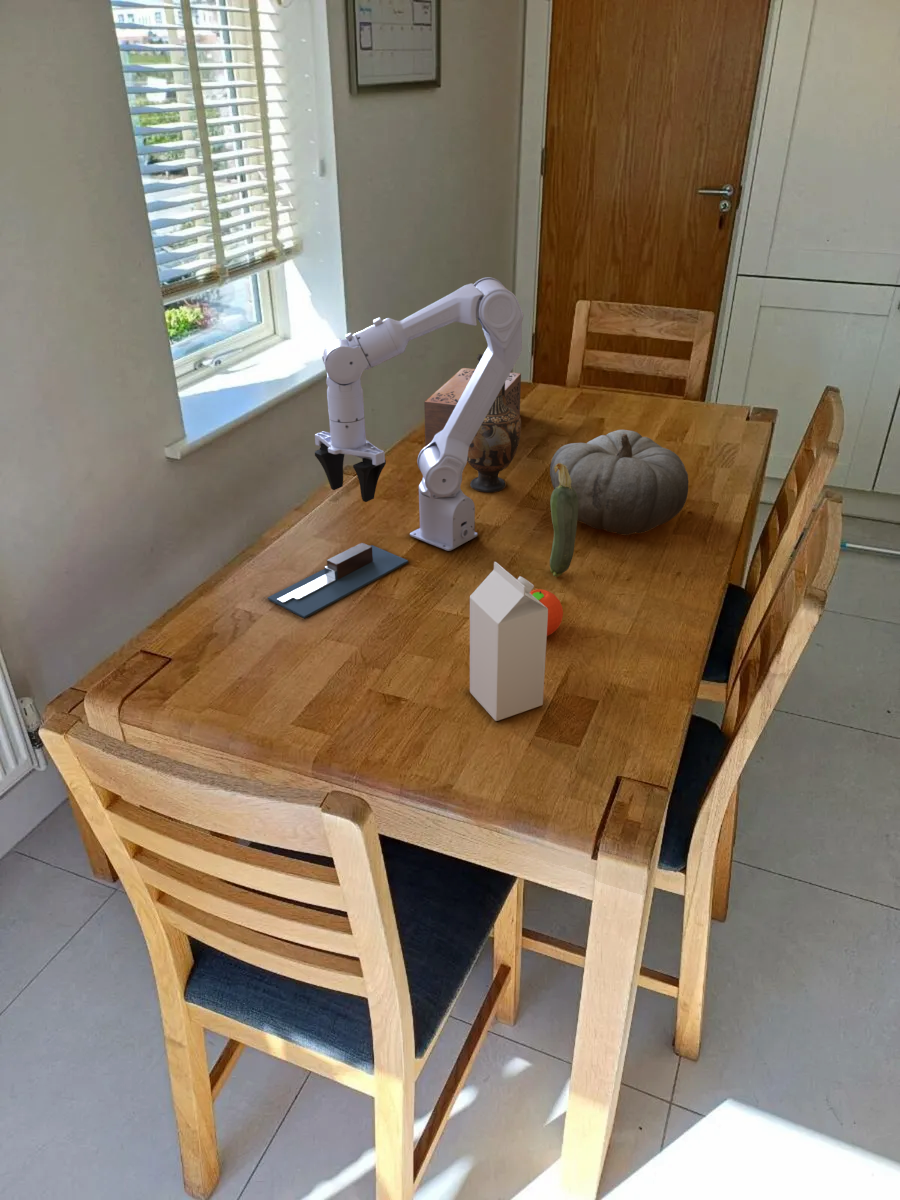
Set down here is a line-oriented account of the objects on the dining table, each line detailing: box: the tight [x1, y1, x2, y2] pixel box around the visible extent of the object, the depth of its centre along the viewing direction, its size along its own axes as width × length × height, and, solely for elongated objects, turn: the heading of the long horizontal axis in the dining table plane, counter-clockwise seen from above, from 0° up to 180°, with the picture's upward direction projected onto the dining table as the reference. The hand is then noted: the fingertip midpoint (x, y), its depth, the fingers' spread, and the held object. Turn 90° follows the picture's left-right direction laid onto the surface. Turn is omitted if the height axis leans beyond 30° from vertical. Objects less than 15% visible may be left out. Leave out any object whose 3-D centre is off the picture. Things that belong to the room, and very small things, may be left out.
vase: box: [467, 353, 522, 493], centre depth 167 cm, size 12×12×30 cm
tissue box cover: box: [423, 367, 522, 447], centre depth 199 cm, size 26×14×10 cm, turn 161°
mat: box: [267, 544, 409, 619], centre depth 143 cm, size 9×23×1 cm, turn 139°
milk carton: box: [469, 561, 548, 722], centre depth 111 cm, size 7×7×19 cm
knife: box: [277, 542, 373, 604], centre depth 141 cm, size 19×3×3 cm, turn 139°
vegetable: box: [549, 463, 578, 578], centre depth 137 cm, size 4×4×20 cm
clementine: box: [530, 588, 564, 637], centre depth 127 cm, size 8×7×7 cm
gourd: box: [549, 429, 689, 536], centre depth 157 cm, size 25×25×17 cm
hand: (352, 493), depth 149 cm, fingers open, 7 cm apart
